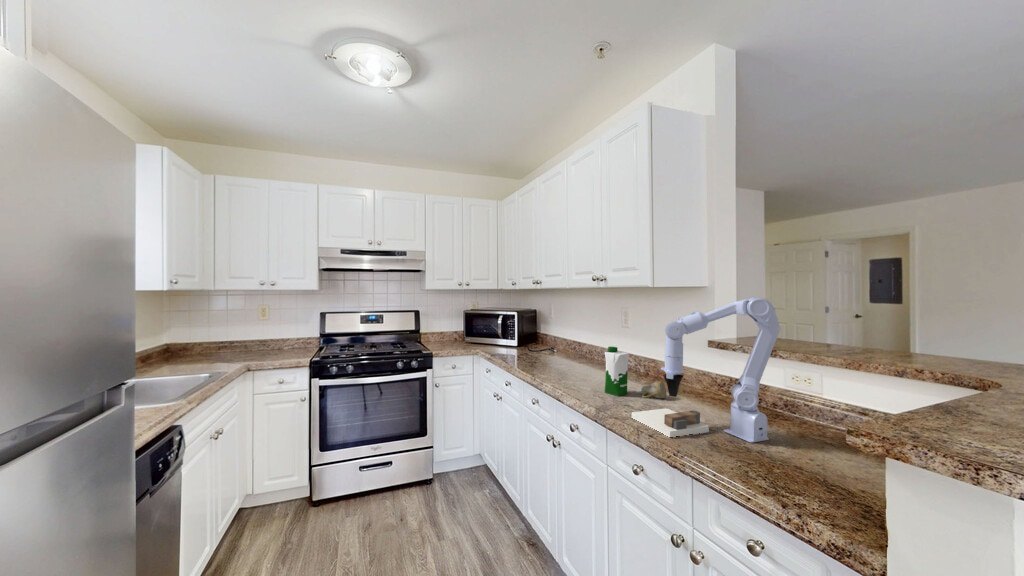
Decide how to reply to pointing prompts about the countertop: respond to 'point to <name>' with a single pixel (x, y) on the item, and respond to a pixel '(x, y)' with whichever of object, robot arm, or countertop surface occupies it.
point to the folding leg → (682, 417)
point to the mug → (654, 390)
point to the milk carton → (616, 371)
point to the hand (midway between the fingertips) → (673, 396)
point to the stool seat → (657, 422)
